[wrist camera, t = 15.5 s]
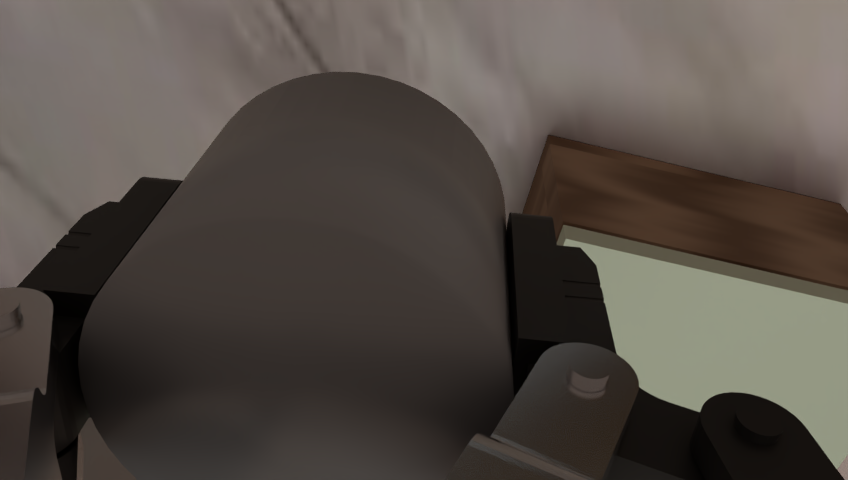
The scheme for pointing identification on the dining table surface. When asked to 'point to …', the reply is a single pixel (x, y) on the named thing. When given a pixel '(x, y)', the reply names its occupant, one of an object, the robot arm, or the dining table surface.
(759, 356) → the lid
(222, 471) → the grey rounded cylinder
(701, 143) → the dining table surface
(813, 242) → the storage box
